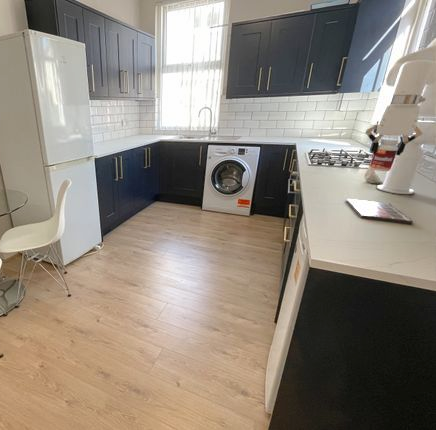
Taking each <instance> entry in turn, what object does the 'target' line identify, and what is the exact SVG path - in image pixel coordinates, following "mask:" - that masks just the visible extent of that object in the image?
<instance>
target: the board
mask: <svg viewBox="0 0 436 430" xmlns="http://www.w3.org/2000/svg"><path fill="white" fill-rule="evenodd" d="M346 203H347V204H348V206H350V208H351V209H352V210H353V211H354V212H355V213H356V214H357V215H358V217H359V218H360V219H365V220H373V221H382V222H389V223H396V224H397V223H398V224H404V225H405V224H406V225H413V222H414V221H413V220H412V219H410V218H409V217H408V216H406V215H405V214H404V213H403V212H401V211H400V210H399V209H397V208H396V207H395V206H394V205H392V204H391V203H386V202H379V201H368V200H361V199H360V200H359V199H353V198H352V199H351V198H346Z"/></svg>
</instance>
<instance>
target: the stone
mask: <svg viewBox="0 0 436 430" xmlns="http://www.w3.org/2000/svg"><path fill="white" fill-rule="evenodd" d="M363 178H364V180H365V182H367V183H369V184H377V185H383V183H384V182H382V180H381V178H380V177H379V176H378V174H377V173H376V170H372V169H369V166H368V168H367V169H366V171H365V173H364V175H363Z"/></svg>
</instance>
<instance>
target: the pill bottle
mask: <svg viewBox="0 0 436 430" xmlns="http://www.w3.org/2000/svg"><path fill="white" fill-rule="evenodd" d="M398 141H399V140H398V139H394V138H381V139H380V141H379V145H378V148H377V151H376V154H372V156H371V159H370V162H369V165H368V167H369V169H372V170H374V171H377V172H388V171H389V170H390V169H391V167H392V164H393V162H394V159H395V157H396V154H397V152H398V147H397V143H398Z"/></svg>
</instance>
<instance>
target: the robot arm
mask: <svg viewBox="0 0 436 430" xmlns="http://www.w3.org/2000/svg"><path fill="white" fill-rule="evenodd" d="M384 81H385V85H386V86H388V87H393V88H392V91H391V95H390V96H389V99H388V103H387V105H383V107H382V108H381V110H380V113H379V114H378V116H377V119H376V121H375V124H373V125H372V126H370V127H369V128H367V129H365V130H364V134H365V135H366V136H367V137H368V138H369V140H370V141H371V145H370V147H369V152H370V154H372V155H373V154H376V151H377V148H378V145H380V141H381V139H382V138H383V137H384V136H398V138H397V140H399V141H398V143H397V144H396V146H397V147H398V152H397V154H396V157H395V159H394V162H393V164H392V167H391V169H390V170H389V171H386V174H385V177H384V181H383V182H382V183H383V184H377V187H376V188H377V190H379V191H382V192H386V193H391V194H395V195H396V194H397V195H413V194H414V193H415V190H414V189H412V188H411V187H412V185H413V183H414V181H415V178H416V176H417V174H418V170H419V168H420V166H421V163H422V161H423V158H424V153H425V152H424V150H423V149H422V147H421V146H420V145H426V146H427V145H428V146H436V121H435V120H434V121H433V120H419V118H422V119H436V37H434V39H433V40H432V41H431V42H430V43H429V44H427V46H426V47H424V48H422V49H419V50H416V51H413V52H411V53H408V54H405V55H403V56H401V57H399V58H397V60H396V61H395V62H394V63H393V64H392V65H391V66H390V68H389V69H388V71H387V72H386V75H385V79H384ZM374 134H375V135H374Z"/></svg>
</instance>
